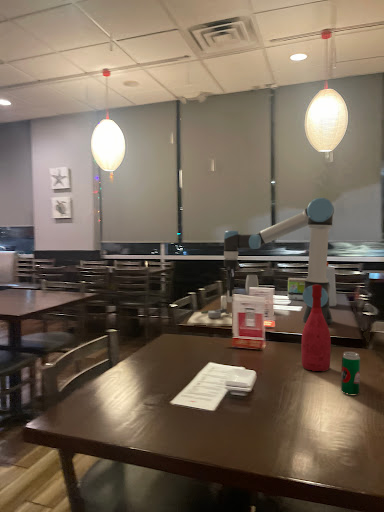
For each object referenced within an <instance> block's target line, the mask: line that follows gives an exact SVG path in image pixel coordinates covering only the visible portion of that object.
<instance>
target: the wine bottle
mask: <svg viewBox="0 0 384 512" xmlns="http://www.w3.org/2000/svg"><path fill="white" fill-rule="evenodd" d="M321 292H322V286H321V285H319V284H314V285H313V286H312V297H313V304H312V310H311V313H310V315H309V317H308V320H307V322H305V324H304V327H303V330H302V333H301V366H302V368H304V369H306V370H307V369H308V370H307V371H310V370H312V371H311V372H315V371H323V372H327V371H328V370H329V369H330V365H331V350H332V349H331V346H332V345H331V344H332V341H331V339H332V338H331V333H330V330H329V325H328V324H327V323H326V321H325V319H324V316H323V314H322V310H321V297H322V294H321ZM326 370H327V371H326Z"/></svg>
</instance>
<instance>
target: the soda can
mask: <svg viewBox="0 0 384 512" xmlns="http://www.w3.org/2000/svg"><path fill="white" fill-rule="evenodd" d="M359 355H360V354H359V353H357V352H354V351H344V352H343V354H342V355H341V384H340V388H341V389H340V390H341V392H342V391H343V392H345V393H348V394H358V393H359V394H360V388H361V387H360V385H361V384H360V382H361V381H360V380H361V375H360V374H361V357H360V356H359ZM343 392H342V393H343ZM359 394H358V395H359Z"/></svg>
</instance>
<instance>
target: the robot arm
mask: <svg viewBox="0 0 384 512" xmlns="http://www.w3.org/2000/svg"><path fill="white" fill-rule="evenodd" d="M334 214H335V208H334V205H333V203H332V202H331V200H329V199H328V198H325V197H317V198H314V199H312V200H311V201H310V202H309V204H308V206H307V207H306V208H304V209H303V210H302V212H300V213H298V214H296V215H293V216H291V217H289V218H286V219H284V220H282V221H280V222H278V223H276V224H274V225H271V226H269V227H267V228H264V229H262V230H260V231H258V232H256V233H253V234H241V233H239V231H238V230H225V231H224V237H223V247H224V248H223V266H224V267H226V271H225V274H226V291H227V303H233V302H232V295H233V296H234V290H235V282H236V281H235V280H236V270H235V267H238V265H239V263H238V262H239V261H238V257H239V256H238V255H239V254H240V253H239V252H238V251H239V249H247V250H248V249H251V250H255V249H260V248H261V247H262V246H263V245H265V244H268V243H270V242H273V241H275V240H277V239H280V238H282V237H284V236H287V235H289V234H291V233H294V232H296V231H298V230H300V229H303V228H305V227H308V228H310V231H309V232H310V233H309V234H310V235H309V248H308V249H309V251H308V266H307V267H308V269H307V270H308V271H307V277H305V278H306V279H305V282H304V291H303V300H302V301H303V302H304V303H305V304H306V307H305V309H304V312H303V314H302V315H303V316H302V322H304V323H306V322H307V320H308V317H309V315H310V313H311V310H312V304H313V297H312V286H313V285H314V284H319V285H321V286H322V292H321V294H322V297H321V310H322V314H323V316H324V319H325V321H326V323H327V325H331V324H332V323H333V321H334V320H333V319H334V318H333V315H332V313H331V310H330V307H329V295H330V281H329V280H328V279H327V278H326V268H327V262H328V249H329V248H328V247H329V232H330V231H329V230H330V229H331V228H332V227H333V221H334V219H333V217H334Z"/></svg>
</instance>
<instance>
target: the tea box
mask: <svg viewBox="0 0 384 512" xmlns="http://www.w3.org/2000/svg"><path fill="white" fill-rule="evenodd" d="M306 278H307V277H288V278H287V299H288V298H289V299H288V300H295V301H296V300H297V301H299V300H300V301H304V300H303V291H304V282H305V279H306Z"/></svg>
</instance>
